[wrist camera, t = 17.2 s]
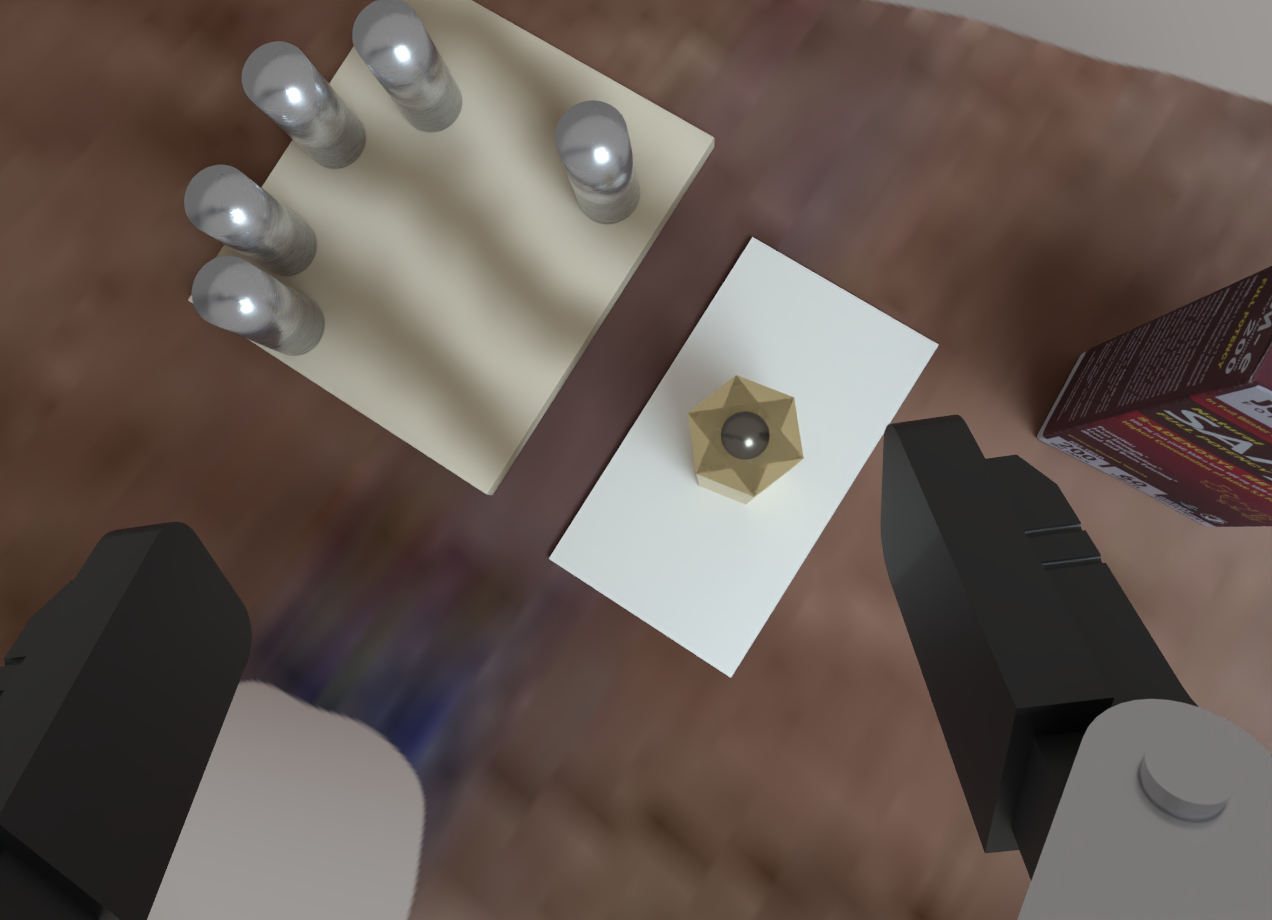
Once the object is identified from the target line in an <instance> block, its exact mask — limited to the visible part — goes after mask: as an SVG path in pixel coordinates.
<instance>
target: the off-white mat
mask: <svg viewBox="0 0 1272 920" xmlns="http://www.w3.org/2000/svg"><path fill="white" fill-rule="evenodd" d="M937 347H938V344H936V343H935V342H933V341H931V340H930V339H928V338H926V337H924V336H923V335H921V334H919V333H917V332H916V331H914V330H912V329H911V328H909V327H907V326H905V325H904V324H902V323H900V322H898V321H897V320H895V319H893V318H892V317H890V316H888V315H886V314H885V313H883V312H881V311H879V310H878V309H876V308H874V307H873V306H871V305H869V304H867V303H866V302H864V301H862V300H860V299H859V298H857V297H855V296H854V295H852V294H850V293H848V292H847V291H845V290H843V289H841V288H840V287H838V286H836V285H835V284H833V283H831V282H829V281H828V280H826V279H824V278H822V277H821V276H819V275H817V274H816V273H814V272H812V271H810V270H809V269H807V268H805V267H803V266H802V265H800V264H798V263H797V262H795V261H793V260H791V259H790V258H788V257H786V256H784V255H783V254H781V253H779V252H778V251H776V250H774V249H772V248H771V247H769V246H767V245H765V244H764V243H762V242H760V241H759V240H757V239H755V238H753V237H752V239H751V240H750V242H749V243H748V245H747V246H746V248H745V250H744V251H743V253H742V254H741V256H740V258H739V259H738V261H737V262H736V264H735V265H734V267H733V269H732V270H731V272H730V273H729V275H728V276H727V278H726V280H725V281H724V283H723V284H722V286H721V288H720V289H719V291H718V292H717V294H716V295H715V297H714V299H713V300H712V302H711V303H710V305H709V306H708V308H707V310H706V311H705V313H704V314H703V316H702V318H701V319H700V321H699V322H698V324H697V325H696V327H695V329H694V330H693V332H692V333H691V335H690V336H689V338H688V340H687V341H686V343H685V344H684V346H683V348H682V349H681V351H680V352H679V354H678V355H677V357H676V359H675V360H674V362H673V363H672V365H671V366H670V368H669V370H668V371H667V373H666V374H665V376H664V378H663V379H662V381H661V382H660V384H659V385H658V387H657V389H656V390H655V392H654V393H653V395H652V396H651V398H650V400H649V401H648V403H647V404H646V406H645V408H644V409H643V411H642V412H641V414H640V415H639V417H638V419H637V420H636V422H635V423H634V425H633V426H632V428H631V430H630V431H629V433H628V434H627V436H626V438H625V439H624V441H623V442H622V444H621V445H620V447H619V449H618V450H617V452H616V453H615V455H614V456H613V458H612V460H611V461H610V463H609V464H608V466H607V468H606V469H605V471H604V472H603V474H602V475H601V477H600V479H599V480H598V482H597V483H596V485H595V486H594V488H593V490H592V491H591V493H590V494H589V496H588V498H587V499H586V501H585V502H584V504H583V505H582V507H581V509H580V510H579V512H578V513H577V515H576V516H575V518H574V520H573V521H572V523H571V524H570V526H569V528H568V529H567V531H566V532H565V534H564V535H563V537H562V539H561V540H560V542H559V543H558V545H557V546H556V548H555V550H554V551H553V553H552V554H551V556H550V558H549V559H550V560H552V561H553V562H555V563H556V564H558V565H559V566H561V567H562V568H564V569H565V570H567V571H568V572H570V573H571V574H573V575H574V576H576V577H578V578H579V579H581V580H582V581H584V582H585V583H587V584H588V585H590V586H591V587H593V588H594V589H596V590H597V591H599V592H600V593H602V594H604V595H605V596H607V597H608V598H610V599H611V600H613V601H614V602H616V603H617V604H619V605H620V606H622V607H623V608H625V609H626V610H628V611H630V612H631V613H633V614H634V615H636V616H637V617H639V618H640V619H642V620H643V621H645V622H646V623H648V624H649V625H651V626H652V627H654V628H656V629H657V630H659V631H660V632H662V633H663V634H665V635H666V636H668V637H669V638H671V639H672V640H674V641H675V642H677V643H678V644H680V645H682V646H683V647H685V648H686V649H688V650H689V651H691V652H692V653H694V654H695V655H697V656H698V657H700V658H701V659H703V660H704V661H706V662H708V663H709V664H711V665H712V666H714V667H715V668H717V669H718V670H720V671H721V672H723V673H724V674H726V675H727V676H729V677H730V678H731V677H732V675H733V674H734V672H735V671H736V669H737V667H738V666H739V664H740V663H741V661H742V659H743V658H744V656H745V655H746V653H747V651H748V650H749V648H750V646H751V645H752V643H753V642H754V640H755V638H756V637H757V635H758V634H759V632H760V630H761V629H762V627H763V626H764V624H765V622H766V621H767V619H768V618H769V616H770V614H771V613H772V611H773V610H774V608H775V606H776V605H777V603H778V602H779V600H780V598H781V597H782V595H783V594H784V592H785V590H786V589H787V587H788V586H789V584H790V582H791V581H792V579H793V578H794V576H795V574H796V573H797V571H798V570H799V568H800V566H801V565H802V563H803V562H804V560H805V558H806V557H807V555H808V554H809V552H810V550H811V549H812V547H813V545H814V544H815V542H816V541H817V539H818V537H819V536H820V534H821V533H822V531H823V529H824V528H825V526H826V525H827V523H828V521H829V520H830V518H831V517H832V515H833V513H834V512H835V510H836V509H837V507H838V505H839V504H840V502H841V501H842V499H843V497H844V496H845V494H846V493H847V491H848V489H849V488H850V486H851V485H852V483H853V481H854V480H855V478H856V477H857V475H858V473H859V472H860V470H861V469H862V467H863V465H864V464H865V462H866V461H867V459H868V457H869V456H870V454H871V452H872V451H873V449H874V448H875V446H876V444H877V443H878V441H879V440H880V438H881V436H882V435H883V433H884V432H885V429H886V427H887V425H888V424H890V422H891V420H892V419H893V417H894V416H895V414H896V412H897V411H898V409H899V408H900V406H901V404H902V403H903V401H904V400H905V398H906V396H907V395H908V393H909V392H910V390H911V388H912V387H913V385H914V384H915V382H916V380H917V379H918V377H919V376H920V374H921V372H922V371H923V369H924V368H925V366H926V364H927V363H928V361H929V360H930V358H931V356H932V355H933V353H934V351H935V350H936V348H937ZM736 375H737V376H740V377H743V378H745V379H748V380H750V381H753V382H756V383H758V384H761V385H763V386H766V387H769V388H771V389H774V390H776V391H779V392H782V393H784V394H787V395H789V396H792V397H794V399H795V406H796V412H797V419H798V425H799V432H800V438H801V445H802V451H803V457H804V459H803V460H801V461H800V462H799V463H798V464H797V465H796V466H794V467H793V468H792V469H791V470H790V471H788V472H787V473H786V474H785V475H784V476H782V477H781V478H780V479H778V480H777V481H776V482H775V483H773V484H772V485H771V486H769V487H768V488H767V489H766V490H764V491H763V492H762V493H760V494H759V495H758V496H757V497H755V498H754V499H753V500H751V501H750V502H749V503H748V504H746V505H745V504H743V503H740V502H738V501H735V500H733V499H730V498H728V497H725V496H723V495H720V494H718V493H715V492H713V491H710V490H708V489H705V488H703V487H700V486H699V483H698V479H697V475H696V469H695V462H694V455H693V448H692V441H691V434H690V427H689V420H688V412H689V411H691V410H692V409H693V408H695V407H696V406H697V405H698V404H700V403H701V402H702V401H704V400H705V399H706V398H707V397H709V396H710V395H711V394H712V393H714V392H715V391H716V390H718V389H719V388H720V387H721V386H723V385H724V384H725V383H727V382H728V381H729V380H730V379H732V378H733V377H734V376H736Z"/></svg>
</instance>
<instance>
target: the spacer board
mask: <svg viewBox="0 0 1272 920" xmlns="http://www.w3.org/2000/svg"><path fill="white" fill-rule="evenodd" d="M401 1H404V2H406V3H407V4H409V5H410V6H411V7H412V8H413V9H414V10H415V11H416V13H417V15H418V16H419V18H420V20H421V22H422V23H423V25H424V27H425V29H426V30H427V32H428V34H429V36H430V38H431V39H432V41H433V43H434V45H435V46H436V48H437V50H438V52H439V53H440V55H441V57H442V59H443V61H444V62H445V64H446V66H447V68H448V69H449V71H450V73H451V75H452V76H453V78H454V80H455V82H456V83H457V85H458V87H459V89H460V91H461V94H462V108H461V112H460V114H459V116H458V118H457V119H456V121H455V122H454V123H453V124H452V125H450V126H449V127H448V128H446V129H444V130H442V131H439V132H433V133H428V132H422V131H420V130H417V129H416V128H414V127H413V126H412V125H411V124H410V123H409V122H408V121H407V119H406V118H405V117H404V115H403V114H402V113H401V111H400V110H399V109H398V107H397V106H396V104H395V103H394V102H393V100H392V99H391V98H390V96H389V95H388V94H387V92H386V91H385V89H384V88H383V87H382V85H381V84H380V83H379V81H378V80H377V79H376V77H375V76H374V75H373V73H372V72H371V70H370V69H369V68H368V66H367V65H366V64H365V62H364V61H363V60H362V58H361V57H360V55H359V54H358V53H357V51H356V49H355V47H353V48H352V50H351V51H350V53H349V54H348V56H347V57H346V59H345V60H344V62H343V63H342V65H341V66H340V68H339V70H338V71H337V73H336V74H335V76H334V77H333V79H332V80H331V82H330V83H329V84H330V85H331V87H332V88H333V89H334V90H335V91H336V93H337V94H338V95H339V96H340V97H341V98H342V100H343V101H344V102H345V103H346V104H347V106H348V107H349V108H350V109H351V110H352V111H353V113H354V114H355V115H356V116H357V117H358V119H359V120H360V121H361V122H362V124H363V126H364V128H365V132H366V143H365V147H364V150H363V152H362V154H361V155H360V156H359V158H358V159H357V160H356V161H355V162H353V163H352V164H350V165H349V166H347V167H344V168H340V169H329V168H326V167H323V166H321V165H319V164H318V163H317V162H316V161H315V160H314V159H312V158H311V157H310V156H309V155H308V154H307V153H306V152H305V151H304V150H303V149H302V148H301V147H300V146H299V145H298V144H297V143H295V142H294V141H293V140H292V142H291V143H290V145H289V146H288V148H287V149H286V151H285V152H284V154H283V155H282V157H281V158H280V160H279V161H278V163H277V164H276V166H275V168H274V169H273V171H272V172H271V174H270V175H269V177H268V178H267V180H266V181H265V183H264V184H263V186H262V187H261V188H262V189H264V190H265V191H266V192H268V193H269V194H270V195H271V196H273V197H274V198H275V199H277V200H278V201H279V202H281V203H282V204H283V205H284V206H286V207H287V208H288V209H290V210H291V211H292V212H293V213H295V214H296V215H297V216H299V217H300V218H301V219H303V220H304V221H305V222H306V223H308V224H309V225H310V226H311V228H312V229H313V231H314V233H315V235H316V239H317V251H316V254H315V257H314V259H313V261H312V262H311V264H310V265H309V266H308V267H307V268H306V269H305V270H304V271H302V272H301V273H299V274H296V275H293V276H279V275H276V274H273V273H271V272H270V271H268V270H266V269H265V268H263V267H261V266H260V265H258V264H256V263H255V262H253V261H251V260H250V259H248V258H246V257H245V256H243V255H241V254H240V253H238V252H236V251H235V250H233V249H231V248H230V247H228V246H226V245H225V244H224V246H223V247H222V249H221V250H220V252H219V253H218V255H217V256H216V258H218V257H221V256H236V257H239V258H242V259H244V260H245V261H247V262H249V263H251V264H252V265H254V266H256V267H257V268H259V269H261V270H262V271H264V272H266V273H267V274H269V275H271V276H273V277H274V278H276V279H278V280H279V281H281V282H283V283H284V284H286V285H288V286H290V287H291V288H293V289H295V290H296V291H298V292H300V293H301V294H303V295H305V296H306V297H308V298H310V299H312V300H313V301H314V302H316V303H317V304H318V306H319V307H320V308H321V310H322V312H323V315H324V319H325V329H324V333H323V336H322V338H321V340H320V342H319V343H318V344H317V346H316V347H315V348H313V349H312V350H311V351H309V352H308V353H305V354H303V355H299V356H288V355H284V354H282V353H279V352H277V351H275V350H272V349H270V348H268V347H265V346H263V345H260V344H258V343H256V342H253V341H251V340H250V341H251V342H253V343H254V344H256V345H258V346H259V347H261V348H262V349H264V350H265V351H267V352H268V353H270V354H271V355H273V356H274V357H276V358H278V359H279V360H281V361H282V362H284V363H285V364H287V365H288V366H290V367H291V368H293V369H294V370H296V371H298V372H299V373H301V374H302V375H304V376H305V377H307V378H308V379H310V380H311V381H313V382H314V383H316V384H318V385H319V386H321V387H322V388H324V389H325V390H327V391H328V392H330V393H331V394H333V395H334V396H336V397H338V398H339V399H341V400H342V401H344V402H345V403H347V404H348V405H350V406H351V407H353V408H354V409H356V410H358V411H359V412H361V413H362V414H364V415H365V416H367V417H368V418H370V419H371V420H373V421H374V422H376V423H378V424H379V425H381V426H382V427H384V428H385V429H387V430H388V431H390V432H391V433H393V434H395V435H396V436H398V437H399V438H401V439H402V440H404V441H405V442H407V443H408V444H410V445H411V446H413V447H415V448H416V449H418V450H419V451H421V452H422V453H424V454H425V455H427V456H428V457H430V458H431V459H433V460H435V461H436V462H438V463H439V464H441V465H442V466H444V467H445V468H447V469H448V470H450V471H451V472H453V473H455V474H456V475H458V476H459V477H461V478H462V479H464V480H465V481H467V482H468V483H470V484H471V485H473V486H475V487H476V488H478V489H479V490H481V491H482V492H484V493H485V494H487V495H493V494H494V492H495V491H496V489H497V488H498V486H499V484H500V483H501V481H502V480H503V478H504V477H505V475H506V473H507V472H508V470H509V469H510V467H511V466H512V464H513V462H514V461H515V459H516V458H517V456H518V455H519V453H520V451H521V450H522V448H523V447H524V445H525V444H526V442H527V440H528V439H529V437H530V436H531V434H532V433H533V431H534V430H535V428H536V426H537V425H538V423H539V422H540V420H541V419H542V417H543V415H544V414H545V412H546V411H547V409H548V408H549V406H550V404H551V403H552V401H553V400H554V398H555V397H556V395H557V393H558V392H559V390H560V389H561V387H562V386H563V384H564V382H565V381H566V379H567V378H568V376H569V375H570V373H571V371H572V370H573V368H574V367H575V365H576V364H577V362H578V360H579V359H580V357H581V356H582V354H583V353H584V351H585V349H586V348H587V346H588V345H589V343H590V342H591V340H592V338H593V337H594V335H595V334H596V332H597V331H598V329H599V327H600V326H601V324H602V323H603V321H604V320H605V318H606V316H607V315H608V313H609V312H610V310H611V309H612V307H613V305H614V304H615V302H616V301H617V299H618V298H619V296H620V294H621V293H622V291H623V290H624V288H625V287H626V285H627V283H628V282H629V280H630V279H631V277H632V276H633V274H634V272H635V271H636V269H637V268H638V266H639V265H640V263H641V262H642V260H643V258H644V257H645V255H646V254H647V252H648V251H649V249H650V247H651V246H652V244H653V243H654V241H655V240H656V238H657V236H658V235H659V233H660V232H661V230H662V229H663V227H664V225H665V224H666V222H667V221H668V219H669V218H670V216H671V214H672V213H673V211H674V210H675V208H676V207H677V205H678V203H679V202H680V200H681V199H682V197H683V196H684V194H685V192H686V191H687V189H688V188H689V186H690V185H691V183H692V181H693V180H694V178H695V177H696V175H697V174H698V172H699V170H700V169H701V167H702V166H703V164H704V163H705V161H706V159H707V158H708V156H709V155H710V153H711V152H712V150H713V148H714V137H712V136H710V135H709V134H707V133H705V132H703V131H702V130H700V129H698V128H696V127H694V126H693V125H691V124H689V123H687V122H686V121H684V120H682V119H680V118H679V117H677V116H675V115H673V114H671V113H670V112H668V111H666V110H664V109H663V108H661V107H659V106H657V105H656V104H654V103H652V102H650V101H649V100H647V99H645V98H643V97H641V96H640V95H638V94H636V93H634V92H633V91H631V90H629V89H627V88H626V87H624V86H622V85H620V84H619V83H617V82H615V81H613V80H611V79H610V78H608V77H606V76H604V75H603V74H601V73H599V72H597V71H596V70H594V69H592V68H590V67H588V66H587V65H585V64H583V63H581V62H580V61H578V60H576V59H574V58H573V57H571V56H569V55H567V54H566V53H564V52H562V51H560V50H558V49H557V48H555V47H553V46H551V45H550V44H548V43H546V42H544V41H543V40H541V39H539V38H537V37H535V36H534V35H532V34H530V33H528V32H527V31H525V30H523V29H521V28H520V27H518V26H516V25H514V24H513V23H511V22H509V21H507V20H505V19H504V18H502V17H500V16H498V15H497V14H495V13H493V12H491V11H490V10H488V9H486V8H484V7H483V6H481V5H479V4H477V3H475V2H474V1H472V0H401ZM591 100H595V101H602V102H605V103H608V104H610V105H612V106H613V107H615V108H616V109H617V110H618V111H619V112H620V113H621V115H622V116H623V118H624V120H625V122H626V125H627V129H628V134H629V139H630V143H631V148H632V153H633V158H634V162H635V167H636V172H637V177H638V182H639V187H640V199H639V203H638V205H637V207H636V209H635V210H634V212H633V213H632V214H631V215H630V216H629V217H628V218H626V219H625V220H623V221H621V222H619V223H615V224H600V223H597V222H595V221H593V220H591V219H590V218H588V217H587V216H586V215H585V214H584V213H583V211H582V209H581V208H580V205H579V203H578V200H577V198H576V195H575V193H574V190H573V188H572V185H571V183H570V180H569V178H568V175H567V173H566V171H565V168H564V166H563V163H562V161H561V158H560V156H559V153H558V151H557V148H556V144H555V131H556V127H557V124H558V122H559V120H560V118H561V117H562V116H563V114H564V113H565V112H566V111H567V110H568V109H570V108H571V107H572V106H574V105H576V104H578V103H581V102H584V101H591ZM188 301H190V302H191V303H193V301H192V295H191V296H190V298H189V299H188ZM248 340H249V339H248Z"/></svg>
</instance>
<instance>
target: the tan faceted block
mask: <svg viewBox="0 0 1272 920" xmlns="http://www.w3.org/2000/svg"><path fill="white" fill-rule="evenodd" d="M688 420H689V427H690V434H691V441H692V448H693V455H694V462H695V469H696V475H697V479H698V483H699V486H700V487H703V488H705V489H708V490H710V491H713V492H715V493H718V494H720V495H723V496H725V497H728V498H730V499H733V500H735V501H738V502H740V503H743V504H745V505H746V504H748V503H749V502H750V501H751V500H753V499H754V498H755V497H757V496H758V495H759V494H760V493H762V492H763V491H764V490H766V489H767V488H768V487H769V486H771V485H772V484H773V483H775V482H776V481H777V480H778V479H780V478H781V477H782V476H784V475H785V474H786V473H787V472H788V471H790V470H791V469H792V468H793V467H794V466H796V465H797V464H798V463H799V462H800V461H801V460H803V459H804V457H803V451H802V445H801V438H800V432H799V425H798V419H797V412H796V406H795V399H794V397H792V396H789V395H787V394H784V393H782V392H779V391H776V390H774V389H771V388H769V387H766V386H763V385H761V384H758V383H756V382H753V381H750V380H748V379H745V378H743V377H740V376H737V375H736V376H734V377H733V378H732V379H730V380H729V381H728V382H727V383H725V384H724V385H723V386H721V387H720V388H719V389H718V390H716V391H715V392H714V393H712V394H711V395H710V396H709V397H707V398H706V399H705V400H704V401H702V402H701V403H700V404H698V405H697V406H696V407H695V408H693V409H692V410H691V411H689V412H688Z"/></svg>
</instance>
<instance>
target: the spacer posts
mask: <svg viewBox="0 0 1272 920" xmlns="http://www.w3.org/2000/svg"><path fill="white" fill-rule="evenodd" d="M352 39H353V44H354V47H355V49H356V51H357V53H358V54H359V55H360V57H361V58H362V60H363V61H364V62H365V64H366V65H367V66H368V68H369V69H370V70H371V72H372V73H373V75H374V76H375V77H376V79H377V80H378V81H379V83H380V84H381V85H382V87H383V88H384V89H385V91H386V92H387V94H388V95H389V96H390V98H391V99H392V100H393V102H394V103H395V104H396V106H397V107H398V109H399V110H400V111H401V113H402V114H403V115H404V117H405V118H406V119H407V121H408V122H409V123H410V124H411V125H412V126H413V127H414V128H416V129H417V130H420V131H422V132H428V133H433V132H439V131H442V130H444V129H446V128H448V127H449V126H450V125H452V124H453V123H454V122H455V121H456V119H457V118H458V116H459V114H460V112H461V108H462V94H461V91H460V89H459V87H458V85H457V83H456V82H455V80H454V78H453V76H452V75H451V73H450V71H449V69H448V68H447V66H446V64H445V62H444V61H443V59H442V57H441V55H440V53H439V52H438V50H437V48H436V46H435V45H434V43H433V41H432V39H431V38H430V36H429V34H428V32H427V30H426V29H425V27H424V25H423V23H422V22H421V20H420V18H419V16H418V15H417V13H416V11H415V10H414V9H413V8H412V7H411V6H410V5H409V4H407V3H406V2H404V1H401V0H377V1H375V2H373V3H371V4H369V5H368V6H366V7H365V8H364V9H363V10H362V11H361V12H360V14H359V15H358V17H357V18H356V20H355V23H354V26H353V31H352ZM242 85H243V89H244V91H245V93H246V95H247V97H248V98H249V99H250V100H251V101H252V102H253V103H254V104H255V105H256V106H257V107H258V108H259V109H261V110H262V111H263V112H264V113H265V114H266V115H267V116H268V117H269V118H270V119H271V120H272V121H273V122H274V123H275V124H276V125H277V126H279V127H280V128H281V129H282V130H283V131H284V132H285V133H286V134H287V135H288V136H289V137H290V138H291V139H292V140H293V141H294V142H295V143H297V144H298V145H299V146H300V147H301V148H302V149H303V150H304V151H305V152H306V153H307V154H308V155H309V156H310V157H311V158H312V159H314V160H315V161H316V162H317V163H318V164H319V165H321V166H323V167H326V168H329V169H340V168H344V167H347V166H349V165H350V164H352V163H353V162H355V161H356V160H357V159H358V158H359V156H360V155H361V154H362V152H363V150H364V147H365V143H366V132H365V128H364V126H363V124H362V122H361V121H360V120H359V119H358V117H357V116H356V115H355V114H354V113H353V111H352V110H351V109H350V108H349V107H348V106H347V104H346V103H345V102H344V101H343V100H342V98H341V97H340V96H339V95H338V94H337V93H336V91H335V90H334V89H333V88H332V87H331V85H330V84H329V83H328V82H327V81H326V80H325V78H324V77H323V76H322V75H321V74H320V72H319V71H318V70H317V69H316V68H315V67H314V65H313V64H312V63H311V62H310V61H309V60H308V58H307V57H306V56H305V55H304V54H303V52H302V51H301V50H300V49H299V48H297V47H296V46H294V45H292V44H290V43H287V42H281V41H276V42H270V43H267V44H264V45H262V46H260V47H259V48H257V49H256V50H255V51H254V52H253V53H252V54H251V55H250V56H249V57H248V59H247V60H246V62H245V65H244V67H243V71H242ZM555 144H556V148H557V151H558V153H559V156H560V158H561V161H562V163H563V166H564V168H565V171H566V173H567V175H568V178H569V180H570V183H571V185H572V188H573V190H574V193H575V195H576V198H577V200H578V203H579V205H580V208H581V209H582V211H583V213H584V214H585V215H586V216H587V217H588V218H590V219H591V220H593V221H595V222H597V223H600V224H615V223H619V222H621V221H623V220H625V219H626V218H628V217H629V216H630V215H631V214H632V213H633V212H634V210H635V209H636V207H637V205H638V203H639V199H640V187H639V182H638V177H637V172H636V167H635V162H634V158H633V153H632V148H631V143H630V139H629V134H628V129H627V125H626V122H625V120H624V118H623V116H622V115H621V113H620V112H619V111H618V110H617V109H616V108H615V107H613V106H612V105H610V104H608V103H605V102H602V101H595V100H591V101H584V102H581V103H578V104H576V105H574V106H572V107H571V108H570V109H568V110H567V111H566V112H565V113H564V114H563V116H562V117H561V118H560V120H559V122H558V124H557V127H556V131H555ZM184 207H185V212H186V214H187V217H188V218H189V220H190V221H191V223H192V224H193V225H194V226H195V227H197V228H198V229H199V230H201V231H203V232H204V233H206V234H208V235H209V236H211V237H213V238H214V239H216V240H218V241H220V242H221V243H223V244H225V245H226V246H228V247H230V248H231V249H233V250H235V251H236V252H238V253H240V254H241V255H243V256H245V257H246V258H248V259H250V260H251V261H253V262H255V263H256V264H258V265H260V266H261V267H263V268H265V269H266V270H268V271H270V272H271V273H273V274H276V275H279V276H293V275H296V274H299V273H301V272H302V271H304V270H305V269H306V268H307V267H308V266H309V265H310V264H311V262H312V261H313V259H314V257H315V254H316V251H317V239H316V235H315V233H314V231H313V229H312V228H311V226H310V225H309V224H308V223H306V222H305V221H304V220H303V219H301V218H300V217H299V216H297V215H296V214H295V213H293V212H292V211H291V210H290V209H288V208H287V207H286V206H284V205H283V204H282V203H281V202H279V201H278V200H277V199H275V198H274V197H273V196H271V195H270V194H269V193H268V192H266V191H265V190H264V189H262V188H261V187H260V186H259V185H257V184H256V183H255V182H253V181H252V180H251V179H249V178H248V177H247V176H246V175H244V174H243V173H242V172H240V171H239V170H238V169H236V168H234V167H231V166H228V165H214V166H210V167H207V168H205V169H203V170H202V171H200V172H199V173H198V174H196V175H195V176H194V177H193V179H192V180H191V181H190V183H189V185H188V187H187V189H186V192H185V197H184ZM192 301H193V304H194V307H195V309H196V311H197V312H198V314H199V315H200V316H201V317H202V318H203V319H204V320H206V321H207V322H209V323H211V324H213V325H216V326H218V327H220V328H223V329H225V330H227V331H230V332H232V333H235V334H237V335H239V336H242V337H244V338H246V339H249V340H251V341H253V342H256V343H258V344H260V345H263V346H265V347H268V348H270V349H272V350H275V351H277V352H279V353H282V354H284V355H288V356H299V355H303V354H305V353H308V352H309V351H311V350H312V349H313V348H315V347H316V346H317V344H318V343H319V342H320V340H321V338H322V336H323V333H324V329H325V319H324V315H323V312H322V310H321V308H320V307H319V306H318V304H317V303H316V302H314V301H313V300H312V299H310V298H308V297H306V296H305V295H303V294H301V293H300V292H298V291H296V290H295V289H293V288H291V287H290V286H288V285H286V284H284V283H283V282H281V281H279V280H278V279H276V278H274V277H273V276H271V275H269V274H267V273H266V272H264V271H262V270H261V269H259V268H257V267H256V266H254V265H252V264H251V263H249V262H247V261H245V260H244V259H242V258H239V257H236V256H221V257H218V258H215V259H213V260H211V261H209V262H208V263H206V264H205V265H204V266H203V267H202V268H201V269H200V271H199V272H198V273H197V275H196V277H195V279H194V282H193V286H192Z"/></svg>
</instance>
